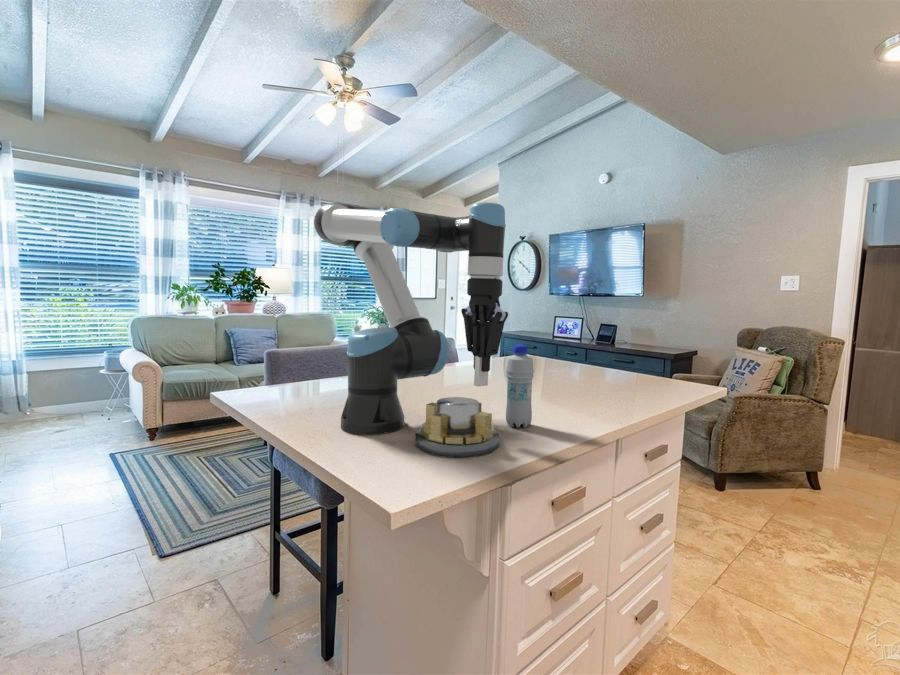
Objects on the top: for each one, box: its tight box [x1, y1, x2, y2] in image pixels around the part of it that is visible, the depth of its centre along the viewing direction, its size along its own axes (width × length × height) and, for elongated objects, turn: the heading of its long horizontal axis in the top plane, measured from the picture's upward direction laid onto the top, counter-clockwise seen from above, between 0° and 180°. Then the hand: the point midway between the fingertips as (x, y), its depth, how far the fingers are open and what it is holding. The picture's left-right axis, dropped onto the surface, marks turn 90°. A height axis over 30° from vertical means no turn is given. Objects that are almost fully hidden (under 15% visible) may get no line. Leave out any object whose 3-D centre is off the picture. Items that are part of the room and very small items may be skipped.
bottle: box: [505, 344, 535, 429], centre depth 110 cm, size 7×7×20 cm
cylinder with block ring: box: [420, 402, 495, 444], centre depth 97 cm, size 15×15×5 cm
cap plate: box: [414, 396, 500, 459], centre depth 97 cm, size 18×18×9 cm
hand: (480, 385), depth 100 cm, fingers closed
